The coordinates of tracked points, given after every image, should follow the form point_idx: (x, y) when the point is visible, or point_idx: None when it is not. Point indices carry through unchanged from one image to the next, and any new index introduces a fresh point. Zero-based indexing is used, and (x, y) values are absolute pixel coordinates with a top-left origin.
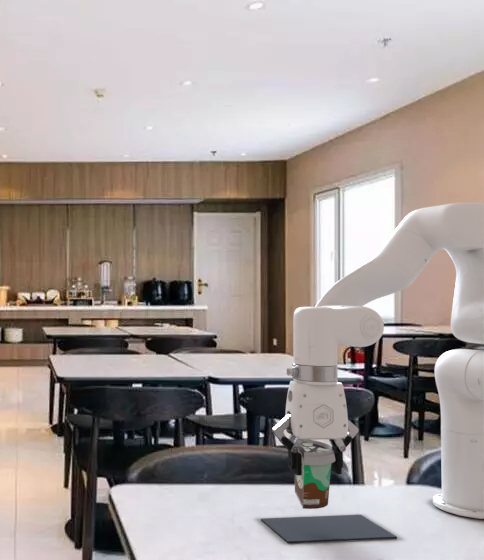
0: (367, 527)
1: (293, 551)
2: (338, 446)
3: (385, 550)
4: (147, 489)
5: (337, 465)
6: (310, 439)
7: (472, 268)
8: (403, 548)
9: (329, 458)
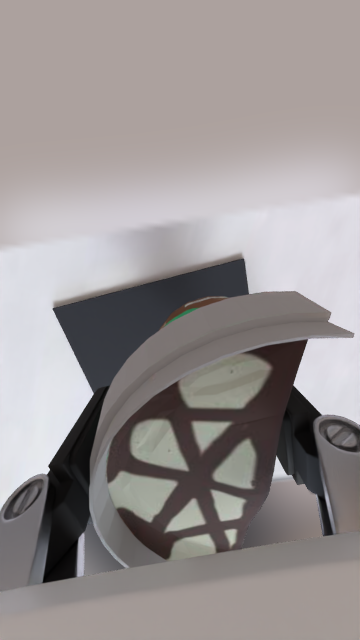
0: (93, 342)
1: (244, 221)
2: (41, 510)
3: (82, 250)
4: None
5: (101, 407)
6: (305, 542)
7: None
8: (50, 264)
9: (137, 365)
